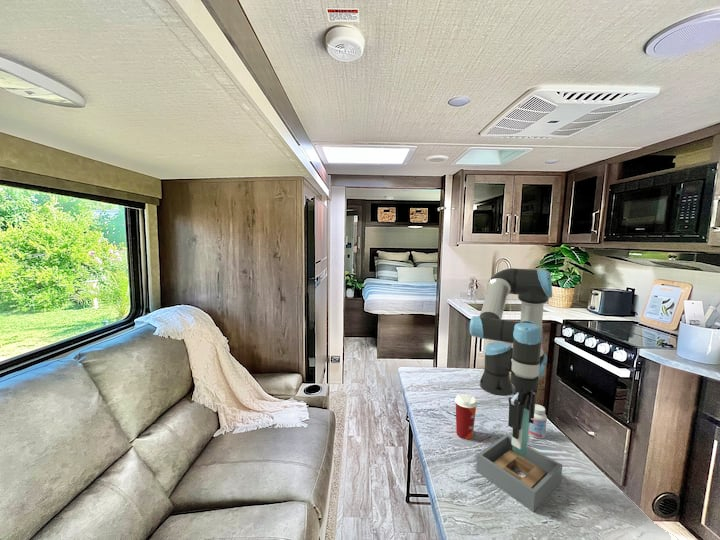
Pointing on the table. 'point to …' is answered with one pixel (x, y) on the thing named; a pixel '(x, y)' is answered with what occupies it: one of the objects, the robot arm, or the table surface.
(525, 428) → the peg
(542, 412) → the pill bottle
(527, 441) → the robot arm
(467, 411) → the coffee cup
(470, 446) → the table surface
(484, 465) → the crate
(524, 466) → the bore block
